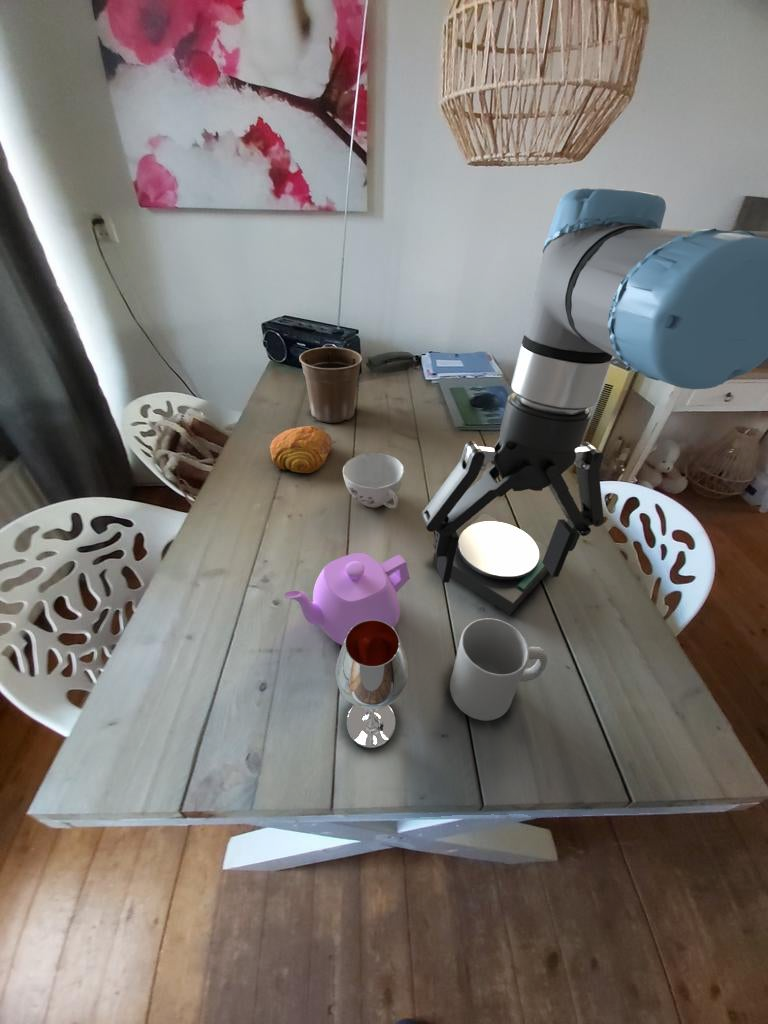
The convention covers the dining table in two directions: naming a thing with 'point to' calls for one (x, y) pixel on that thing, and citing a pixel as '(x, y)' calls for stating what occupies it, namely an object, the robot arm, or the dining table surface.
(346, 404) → the plant pot
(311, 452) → the croissant
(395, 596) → the teapot
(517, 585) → the scale
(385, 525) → the dining table surface
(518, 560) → the scale pan
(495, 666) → the mug
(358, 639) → the wineglass
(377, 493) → the teacup
